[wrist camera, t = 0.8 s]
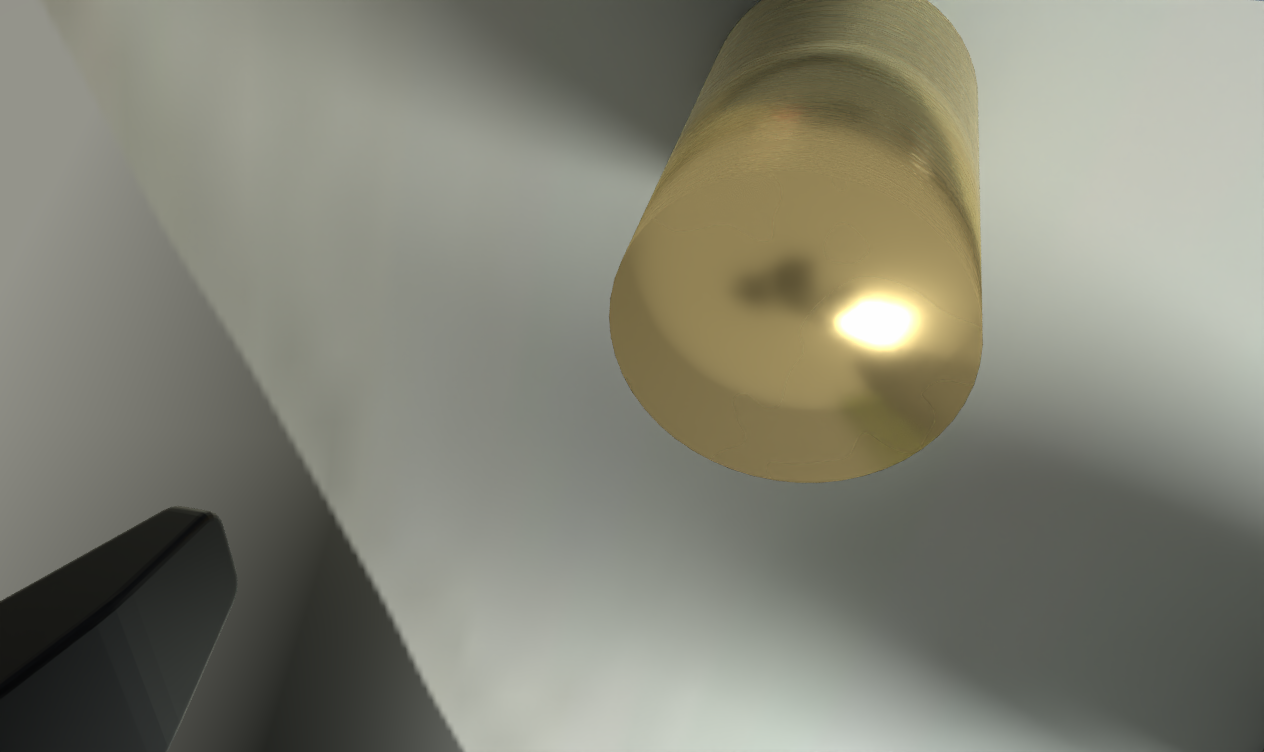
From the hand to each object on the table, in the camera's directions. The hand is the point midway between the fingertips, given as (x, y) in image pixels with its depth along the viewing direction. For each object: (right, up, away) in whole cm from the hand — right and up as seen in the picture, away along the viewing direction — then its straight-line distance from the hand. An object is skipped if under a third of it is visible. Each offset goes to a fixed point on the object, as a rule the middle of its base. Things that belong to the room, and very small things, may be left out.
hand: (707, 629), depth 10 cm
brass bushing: (+3, +7, +10) cm, 12 cm away
